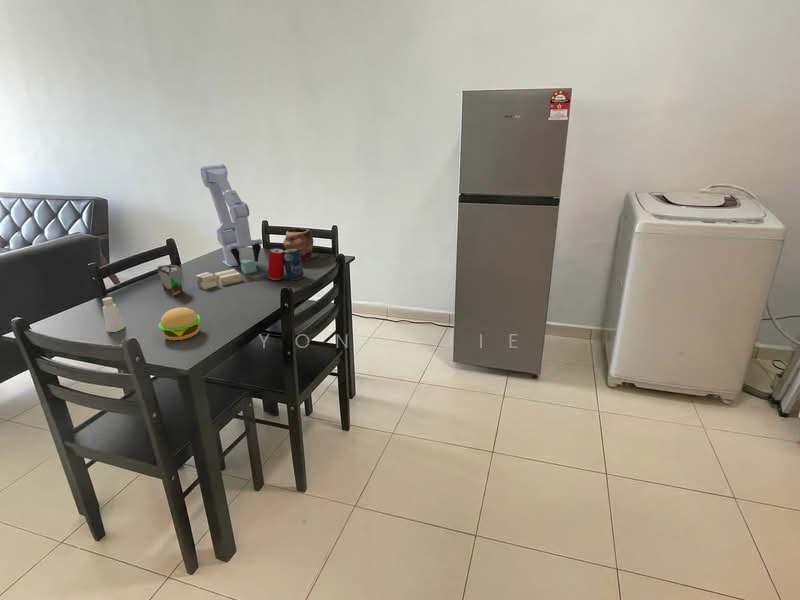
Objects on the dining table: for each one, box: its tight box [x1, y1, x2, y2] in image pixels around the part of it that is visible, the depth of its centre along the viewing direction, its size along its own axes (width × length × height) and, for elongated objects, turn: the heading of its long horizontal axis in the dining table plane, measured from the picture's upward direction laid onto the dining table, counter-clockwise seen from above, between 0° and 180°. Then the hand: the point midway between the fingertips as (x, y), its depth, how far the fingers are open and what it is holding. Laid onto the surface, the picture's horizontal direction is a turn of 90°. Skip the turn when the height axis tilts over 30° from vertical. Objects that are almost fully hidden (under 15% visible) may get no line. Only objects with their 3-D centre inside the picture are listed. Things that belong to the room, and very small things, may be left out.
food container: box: [157, 264, 184, 298], centre depth 176 cm, size 12×6×10 cm, turn 47°
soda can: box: [283, 248, 304, 281], centre depth 187 cm, size 7×7×12 cm
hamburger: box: [158, 306, 202, 342], centre depth 142 cm, size 12×12×9 cm
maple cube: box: [195, 271, 217, 290], centre depth 182 cm, size 5×5×5 cm
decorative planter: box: [282, 228, 314, 263], centre depth 211 cm, size 20×12×14 cm, turn 164°
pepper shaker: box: [101, 296, 126, 333], centre depth 145 cm, size 5×5×11 cm
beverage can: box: [267, 247, 285, 281], centre depth 186 cm, size 6×6×12 cm
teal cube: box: [240, 257, 258, 275], centre depth 198 cm, size 5×5×5 cm
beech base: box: [214, 268, 242, 286], centre depth 188 cm, size 8×8×4 cm
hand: (247, 263), depth 197 cm, fingers open, 7 cm apart
